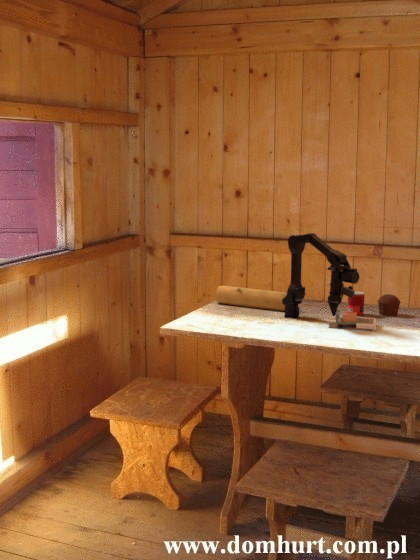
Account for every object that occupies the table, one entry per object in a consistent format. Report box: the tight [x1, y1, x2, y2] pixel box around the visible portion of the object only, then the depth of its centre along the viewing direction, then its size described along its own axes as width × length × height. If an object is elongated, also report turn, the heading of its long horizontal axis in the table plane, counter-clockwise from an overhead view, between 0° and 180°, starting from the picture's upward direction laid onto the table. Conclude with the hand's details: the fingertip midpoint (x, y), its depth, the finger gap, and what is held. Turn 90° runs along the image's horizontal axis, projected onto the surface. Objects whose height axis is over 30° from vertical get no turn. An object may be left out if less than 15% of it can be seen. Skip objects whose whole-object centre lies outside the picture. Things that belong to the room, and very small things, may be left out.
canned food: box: [346, 290, 365, 317], centre depth 398 cm, size 8×8×11 cm
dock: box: [328, 316, 377, 332], centre depth 369 cm, size 21×14×4 cm, turn 78°
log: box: [215, 285, 287, 312], centre depth 412 cm, size 38×10×10 cm, turn 62°
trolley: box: [335, 309, 359, 326], centre depth 370 cm, size 10×11×6 cm
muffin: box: [377, 293, 401, 317], centre depth 398 cm, size 12×11×10 cm
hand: (334, 314), depth 370 cm, fingers open, 9 cm apart
